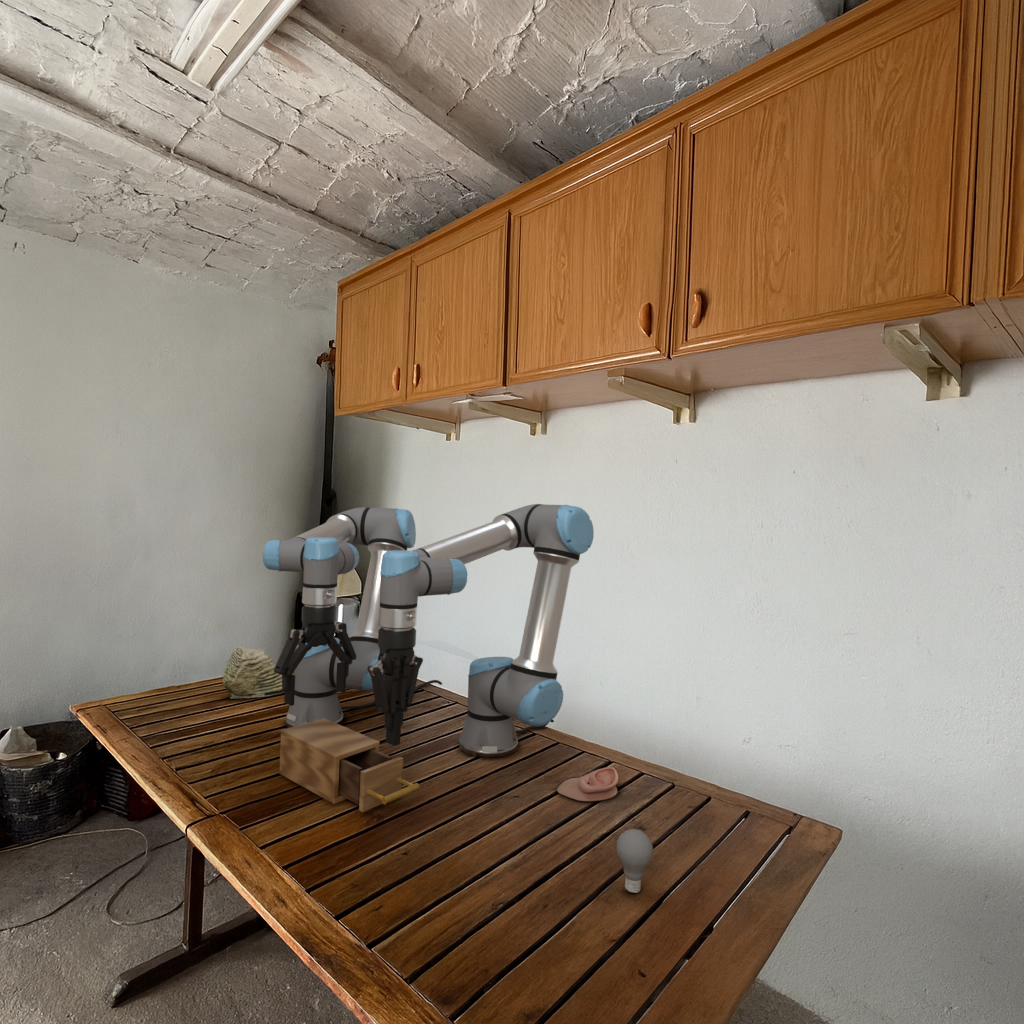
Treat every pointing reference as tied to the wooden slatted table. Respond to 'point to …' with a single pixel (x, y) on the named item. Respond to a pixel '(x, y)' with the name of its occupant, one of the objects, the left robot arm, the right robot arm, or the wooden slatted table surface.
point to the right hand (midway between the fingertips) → (392, 743)
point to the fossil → (251, 674)
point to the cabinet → (320, 755)
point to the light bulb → (634, 857)
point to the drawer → (372, 779)
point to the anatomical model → (591, 785)
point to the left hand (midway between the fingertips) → (315, 697)
